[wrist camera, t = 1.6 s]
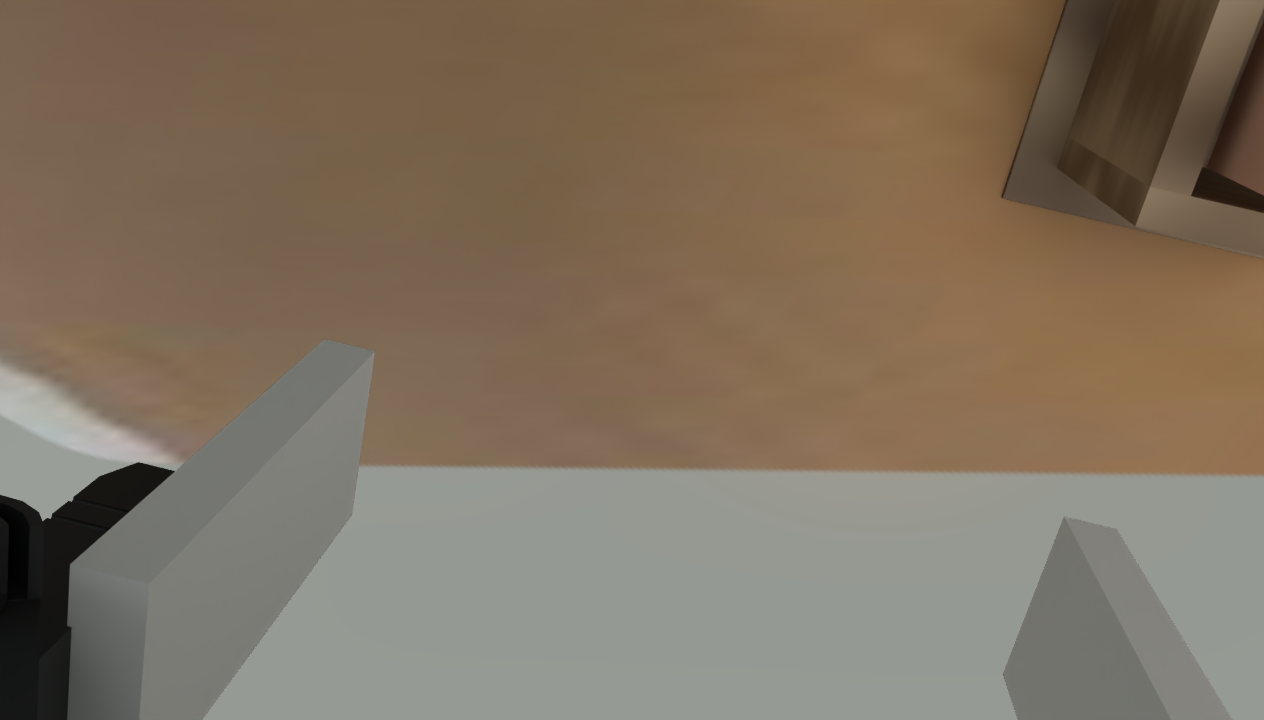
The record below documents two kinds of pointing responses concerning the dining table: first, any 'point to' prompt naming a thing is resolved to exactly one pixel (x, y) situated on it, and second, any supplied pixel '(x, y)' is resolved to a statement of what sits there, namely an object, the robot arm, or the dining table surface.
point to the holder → (1142, 120)
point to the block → (1244, 127)
